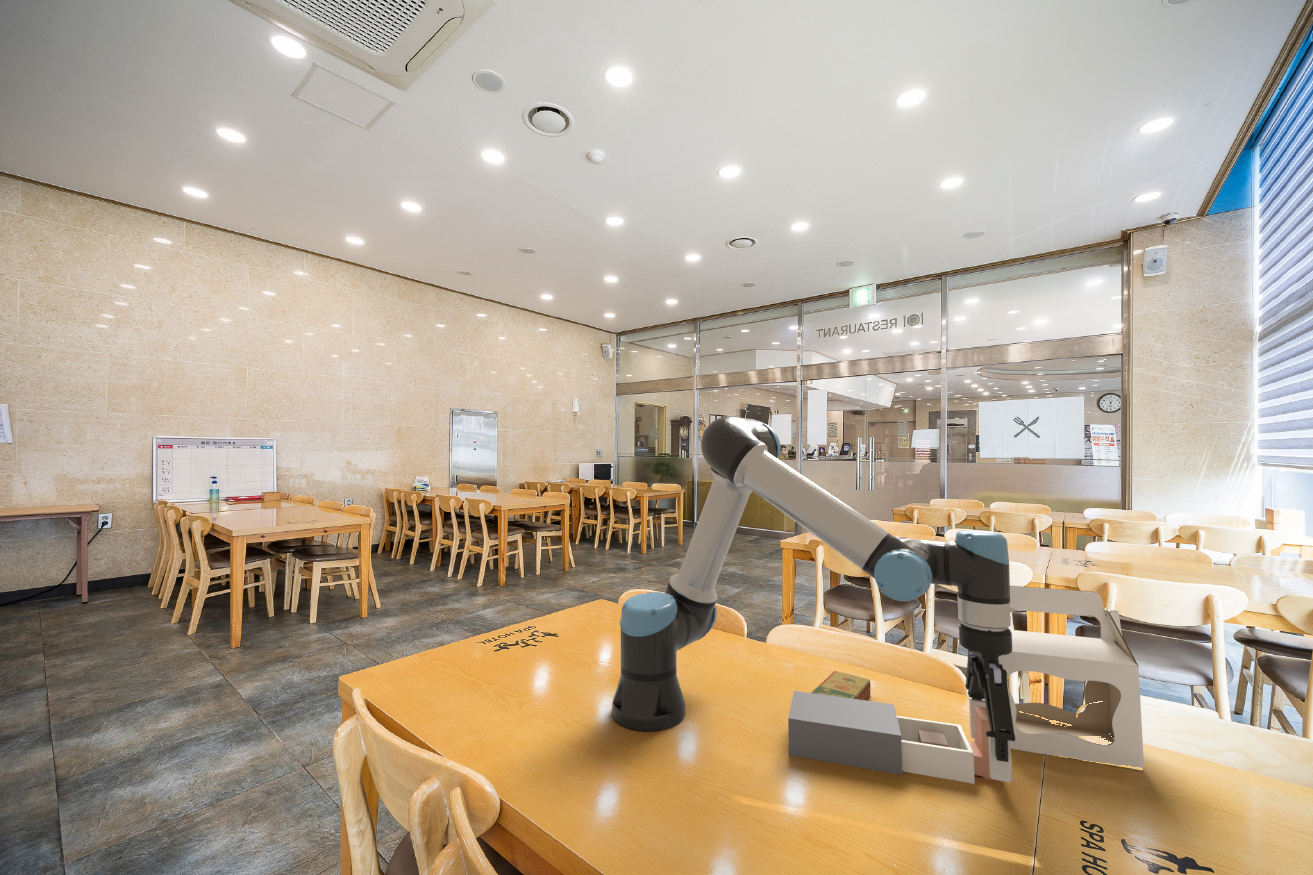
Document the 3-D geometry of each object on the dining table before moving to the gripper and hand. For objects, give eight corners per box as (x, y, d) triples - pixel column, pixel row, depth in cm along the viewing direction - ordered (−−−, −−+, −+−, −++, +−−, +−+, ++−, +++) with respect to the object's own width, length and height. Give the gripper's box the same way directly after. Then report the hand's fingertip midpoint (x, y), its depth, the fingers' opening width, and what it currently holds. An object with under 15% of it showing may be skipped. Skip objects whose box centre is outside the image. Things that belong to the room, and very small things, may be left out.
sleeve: (788, 759, 91) (788, 718, 91) (794, 727, 102) (793, 690, 102) (902, 779, 85) (901, 735, 85) (894, 743, 96) (893, 704, 96)
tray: (863, 767, 88) (862, 708, 88) (861, 739, 97) (860, 685, 97) (1009, 793, 81) (1006, 728, 81) (992, 760, 90) (990, 702, 90)
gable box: (1112, 735, 99) (1104, 586, 101) (1146, 772, 87) (1137, 602, 89) (977, 714, 107) (972, 577, 109) (991, 746, 95) (985, 590, 97)
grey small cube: (922, 765, 87) (921, 741, 88) (918, 753, 91) (918, 729, 91) (949, 770, 86) (948, 745, 86) (944, 757, 90) (943, 733, 90)
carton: (871, 698, 116) (871, 678, 116) (848, 726, 103) (848, 704, 103) (834, 688, 121) (833, 669, 121) (807, 714, 108) (807, 693, 108)
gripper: (1037, 651, 75) (1043, 807, 73) (990, 608, 98) (994, 726, 96) (977, 645, 77) (982, 796, 76) (945, 604, 100) (949, 720, 99)
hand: (989, 757), depth 86 cm, fingers open, 12 cm apart
